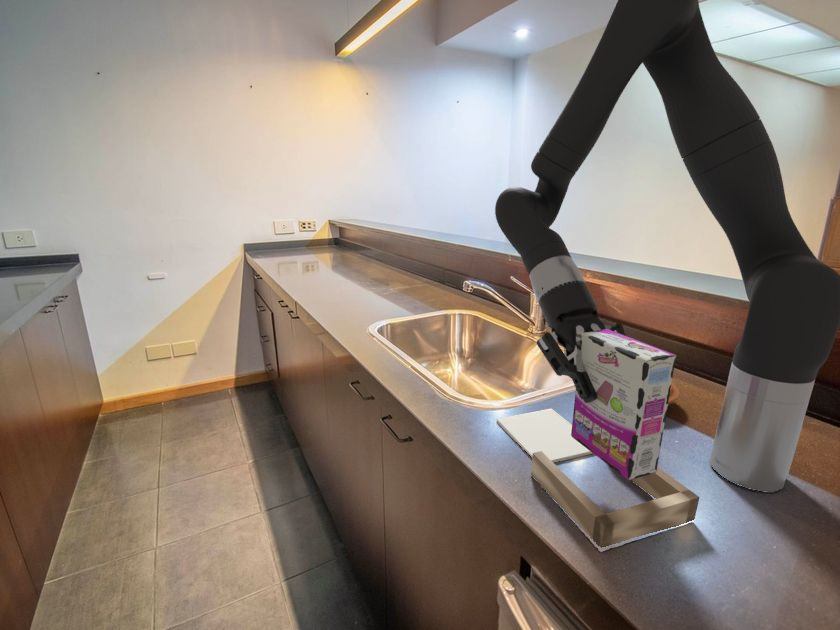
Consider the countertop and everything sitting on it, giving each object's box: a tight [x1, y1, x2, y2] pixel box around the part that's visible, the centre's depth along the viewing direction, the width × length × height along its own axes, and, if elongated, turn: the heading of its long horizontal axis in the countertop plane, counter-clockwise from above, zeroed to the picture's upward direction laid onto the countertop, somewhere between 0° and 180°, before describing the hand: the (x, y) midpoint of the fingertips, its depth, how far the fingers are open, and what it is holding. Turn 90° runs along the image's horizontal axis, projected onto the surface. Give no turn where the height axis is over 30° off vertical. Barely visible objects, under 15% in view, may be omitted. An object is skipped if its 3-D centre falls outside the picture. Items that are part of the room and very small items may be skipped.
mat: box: [496, 408, 593, 464], centre depth 74 cm, size 12×14×1 cm
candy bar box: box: [571, 329, 677, 481], centre depth 56 cm, size 11×5×16 cm, turn 20°
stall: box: [530, 451, 700, 548], centre depth 59 cm, size 15×15×4 cm
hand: (608, 397), depth 58 cm, fingers closed on candy bar box, 5 cm apart
